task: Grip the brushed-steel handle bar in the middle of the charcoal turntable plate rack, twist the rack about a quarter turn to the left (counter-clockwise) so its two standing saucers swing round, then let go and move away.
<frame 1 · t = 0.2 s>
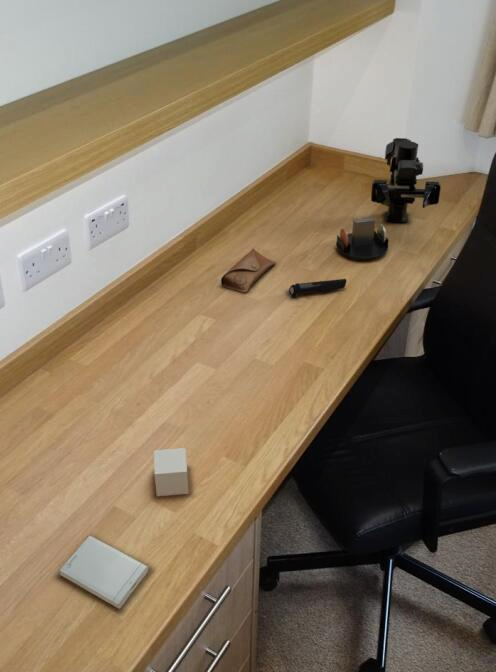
hand: (406, 205, 193), 17 cm above the table, tool horizontal, fingers open, 9 cm apart
sunglasses case: (249, 275, 197), on the table
hard drive: (104, 574, 119), on the table
rack: (363, 233, 204), point 5 cm above the table, hinge at 0.0°, touching turntable base
turntable base: (361, 250, 207), on the table
electric trimmer: (316, 291, 189), on the table
light grey cube: (172, 483, 135), on the table
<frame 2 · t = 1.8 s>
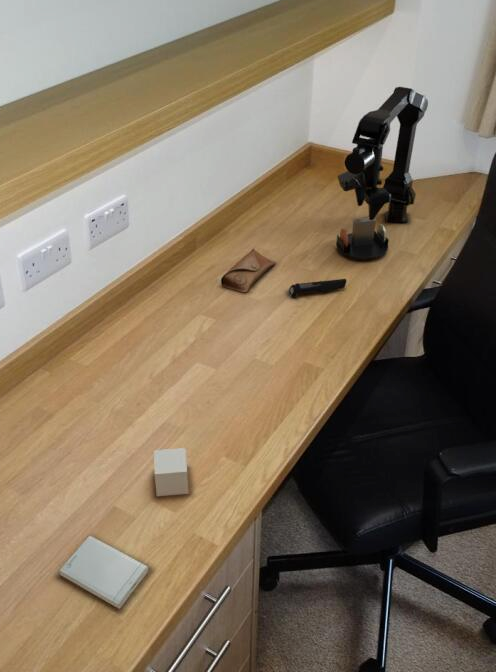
hand: (365, 212, 200), 12 cm above the table, tool pointing down, fingers open, 9 cm apart
nothing on the table moved.
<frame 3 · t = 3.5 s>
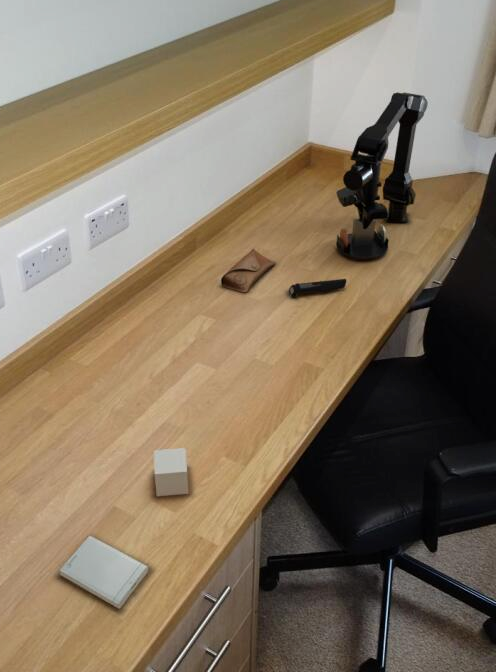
hand: (363, 227, 203), 8 cm above the table, tool pointing down, fingers closed on rack
rack: (363, 233, 204), point 5 cm above the table, hinge at 0.0°, touching gripper, turntable base
everything else where it was.
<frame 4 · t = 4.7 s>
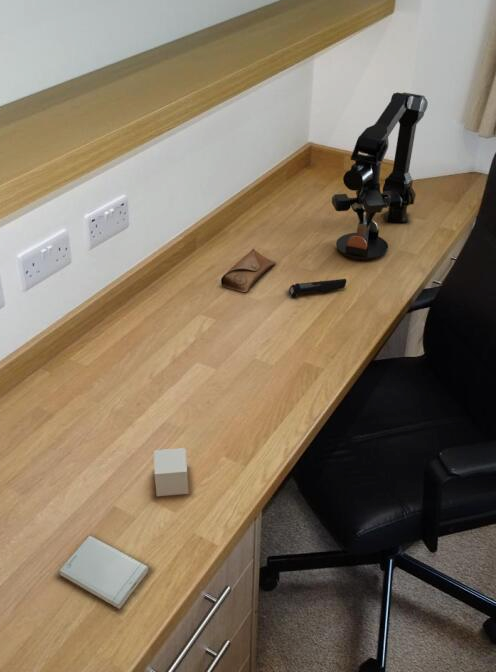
hand: (364, 227, 203), 8 cm above the table, tool pointing down, fingers closed, pressing on rack
rack: (363, 233, 204), point 5 cm above the table, hinge at 53.8°, touching gripper, turntable base
everything else where it was.
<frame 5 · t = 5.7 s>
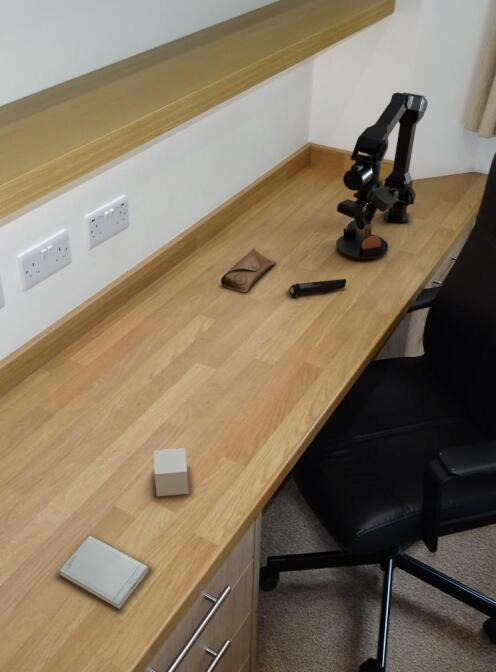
hand: (363, 227, 203), 8 cm above the table, tool pointing down, fingers closed on rack, 3 cm apart
rack: (363, 233, 204), point 5 cm above the table, hinge at 94.1°, touching gripper, turntable base
everything else where it was.
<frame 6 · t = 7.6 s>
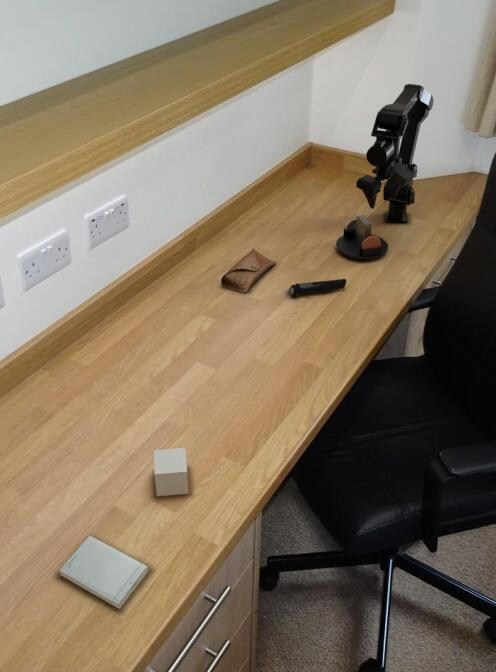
hand: (382, 203, 204), 13 cm above the table, tool pointing down, fingers open, 9 cm apart
rack: (363, 233, 204), point 5 cm above the table, hinge at 94.1°, touching turntable base
everything else where it was.
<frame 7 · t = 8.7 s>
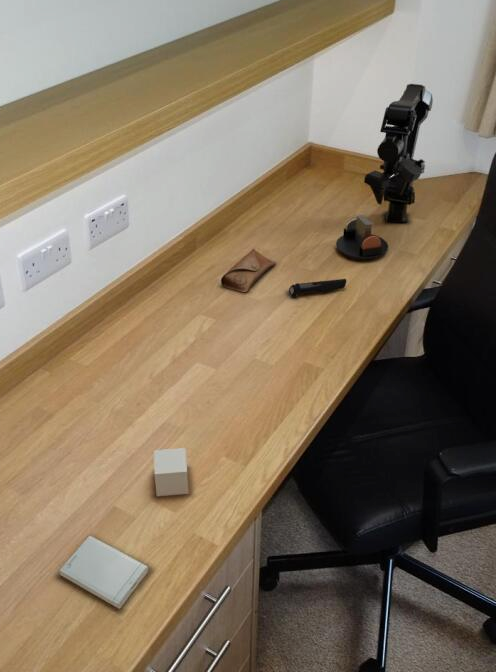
hand: (389, 199, 205), 13 cm above the table, tool pointing down, fingers open, 9 cm apart
nothing on the table moved.
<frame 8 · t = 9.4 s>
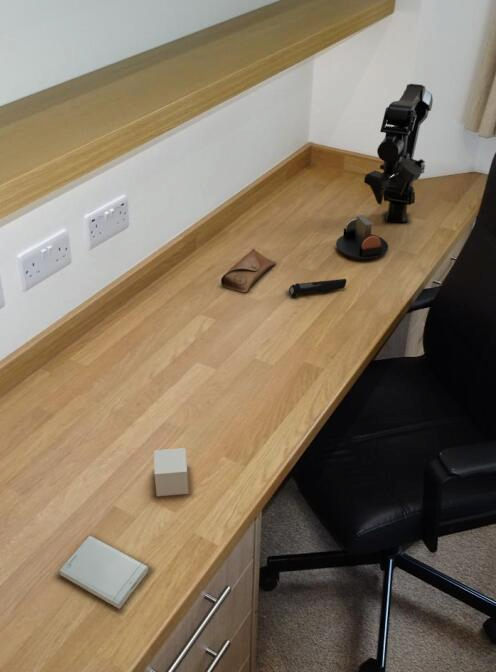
hand: (389, 199, 205), 13 cm above the table, tool pointing down, fingers open, 9 cm apart
nothing on the table moved.
at the end: rack at +94° (first picture: +0°); the gripper is holding nothing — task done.
